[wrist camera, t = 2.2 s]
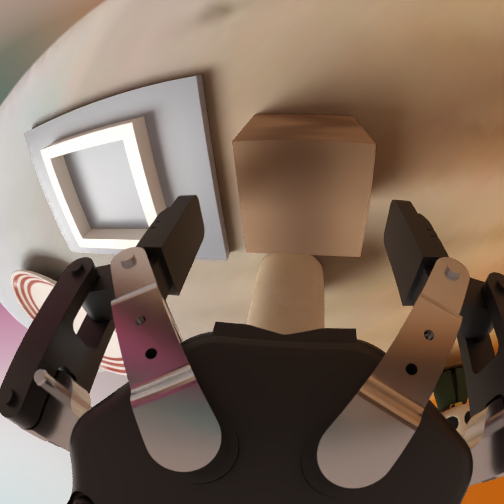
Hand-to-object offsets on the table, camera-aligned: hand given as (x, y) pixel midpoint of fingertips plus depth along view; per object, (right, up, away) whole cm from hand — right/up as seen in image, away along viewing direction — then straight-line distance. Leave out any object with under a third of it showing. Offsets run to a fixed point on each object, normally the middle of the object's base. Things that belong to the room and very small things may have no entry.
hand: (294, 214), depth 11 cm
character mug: (+29, -20, +21) cm, 41 cm away
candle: (+2, -3, +12) cm, 13 cm away
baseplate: (-13, +4, +9) cm, 16 cm away
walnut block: (+2, +4, +6) cm, 8 cm away
